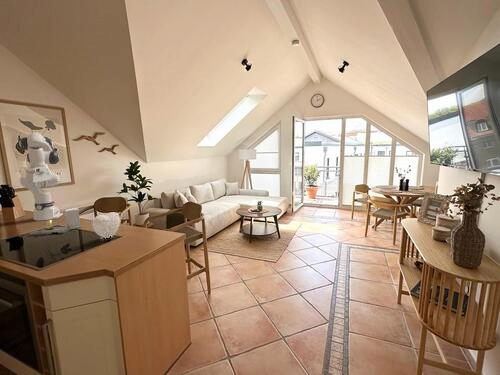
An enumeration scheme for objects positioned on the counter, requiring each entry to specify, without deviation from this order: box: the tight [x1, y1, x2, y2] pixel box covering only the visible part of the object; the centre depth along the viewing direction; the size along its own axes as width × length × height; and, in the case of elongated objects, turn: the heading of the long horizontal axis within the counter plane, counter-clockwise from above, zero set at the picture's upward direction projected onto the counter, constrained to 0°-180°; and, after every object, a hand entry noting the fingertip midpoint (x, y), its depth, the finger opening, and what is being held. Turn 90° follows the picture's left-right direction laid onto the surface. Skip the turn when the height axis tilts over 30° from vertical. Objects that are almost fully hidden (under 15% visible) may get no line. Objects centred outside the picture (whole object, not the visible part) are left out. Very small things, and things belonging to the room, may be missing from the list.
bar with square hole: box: [28, 226, 70, 236], centre depth 173 cm, size 7×22×3 cm, turn 99°
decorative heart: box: [91, 211, 121, 240], centre depth 161 cm, size 18×11×17 cm, turn 157°
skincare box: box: [64, 207, 81, 231], centre depth 183 cm, size 8×6×15 cm
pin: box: [45, 219, 53, 230], centre depth 173 cm, size 3×3×9 cm
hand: (40, 187), depth 179 cm, fingers open, 8 cm apart
